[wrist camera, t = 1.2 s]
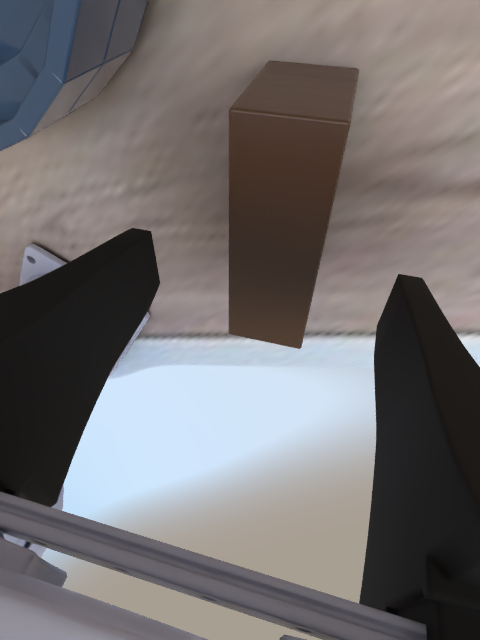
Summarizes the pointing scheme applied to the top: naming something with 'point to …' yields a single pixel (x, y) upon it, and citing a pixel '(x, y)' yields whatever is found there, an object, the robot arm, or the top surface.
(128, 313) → the robot arm
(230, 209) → the bar
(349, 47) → the top surface
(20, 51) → the bowl
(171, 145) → the top surface
